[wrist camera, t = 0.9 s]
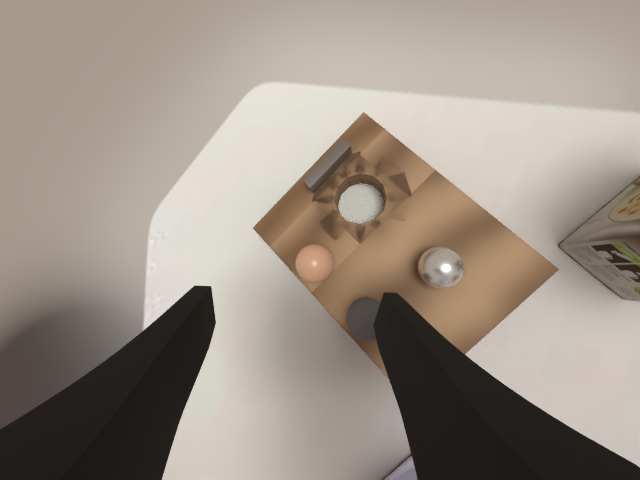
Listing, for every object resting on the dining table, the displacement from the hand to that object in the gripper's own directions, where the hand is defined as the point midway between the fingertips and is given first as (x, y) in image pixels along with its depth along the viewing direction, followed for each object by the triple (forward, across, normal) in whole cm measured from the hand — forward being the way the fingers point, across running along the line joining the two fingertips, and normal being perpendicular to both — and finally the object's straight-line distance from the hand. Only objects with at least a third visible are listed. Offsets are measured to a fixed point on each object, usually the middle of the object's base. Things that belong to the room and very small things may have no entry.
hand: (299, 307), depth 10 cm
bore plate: (+11, -8, +3) cm, 15 cm away
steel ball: (+6, -11, +2) cm, 13 cm away
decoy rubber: (+5, -6, +6) cm, 10 cm away
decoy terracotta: (+9, -2, +4) cm, 10 cm away
